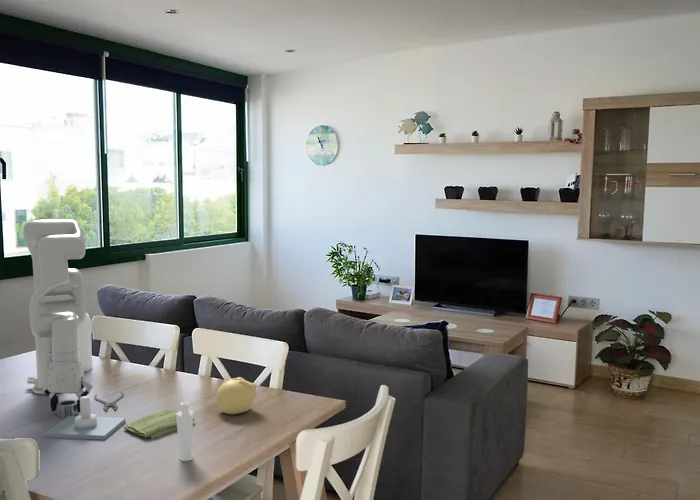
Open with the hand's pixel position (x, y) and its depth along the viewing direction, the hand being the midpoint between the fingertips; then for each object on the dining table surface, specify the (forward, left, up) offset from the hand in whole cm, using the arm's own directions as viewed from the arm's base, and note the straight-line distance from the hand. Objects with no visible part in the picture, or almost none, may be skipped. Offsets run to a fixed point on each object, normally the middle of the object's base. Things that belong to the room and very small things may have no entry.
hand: (67, 410), depth 207 cm
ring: (0, 0, -1) cm, 1 cm away
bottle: (-20, +48, -1) cm, 52 cm away
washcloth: (+33, -8, -2) cm, 34 cm away
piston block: (+12, -12, -1) cm, 17 cm away
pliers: (+9, +13, -2) cm, 16 cm away
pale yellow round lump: (+52, +8, -2) cm, 53 cm away
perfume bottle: (+48, -29, -1) cm, 56 cm away
